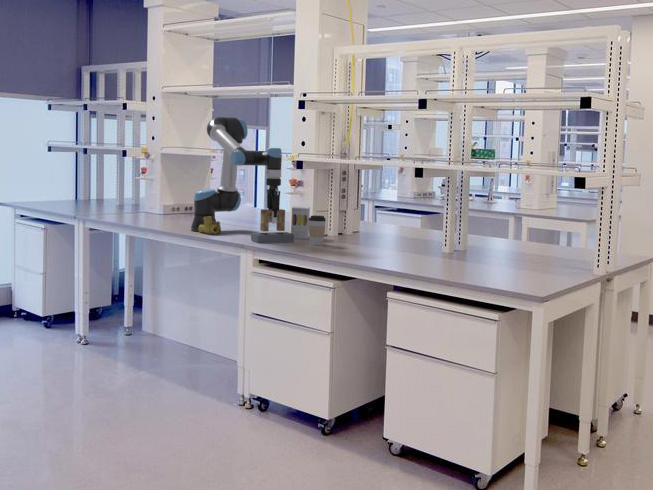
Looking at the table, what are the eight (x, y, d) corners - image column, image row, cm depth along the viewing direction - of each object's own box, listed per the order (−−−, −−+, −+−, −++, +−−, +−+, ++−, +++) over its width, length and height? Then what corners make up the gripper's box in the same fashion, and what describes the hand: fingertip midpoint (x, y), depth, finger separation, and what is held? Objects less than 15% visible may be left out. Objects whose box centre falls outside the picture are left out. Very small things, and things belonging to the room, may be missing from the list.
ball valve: (212, 236, 396) (226, 233, 403) (210, 218, 394) (224, 214, 401) (198, 235, 404) (212, 232, 412) (195, 217, 402) (209, 214, 409)
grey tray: (257, 243, 371) (257, 235, 370) (251, 240, 380) (251, 232, 379) (293, 241, 380) (293, 234, 379) (286, 239, 388) (286, 232, 388)
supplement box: (290, 238, 393) (291, 207, 391) (291, 236, 402) (292, 206, 400) (308, 239, 393) (308, 208, 390) (309, 237, 402) (310, 206, 399)
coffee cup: (305, 244, 370) (305, 215, 368) (311, 242, 379) (311, 214, 377) (321, 246, 368) (322, 216, 365) (327, 244, 376) (328, 215, 374)
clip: (263, 231, 375) (263, 210, 373) (260, 230, 378) (260, 209, 377) (284, 230, 380) (285, 210, 378) (281, 230, 383) (282, 209, 382)
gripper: (261, 176, 381) (260, 221, 384) (273, 178, 366) (272, 224, 369) (274, 177, 384) (273, 221, 388) (286, 178, 369) (285, 224, 372)
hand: (272, 222), depth 378 cm, fingers closed on clip, 4 cm apart
